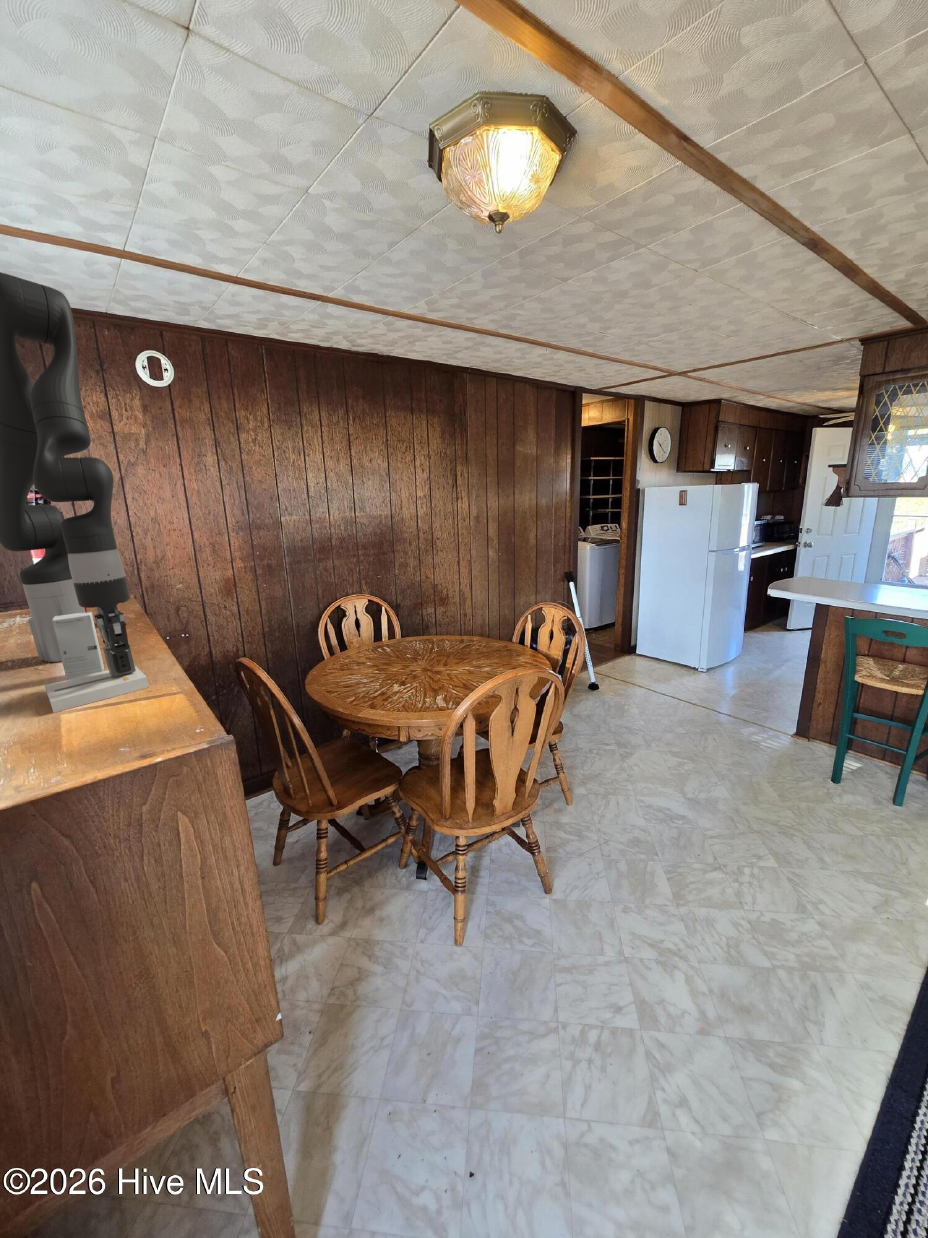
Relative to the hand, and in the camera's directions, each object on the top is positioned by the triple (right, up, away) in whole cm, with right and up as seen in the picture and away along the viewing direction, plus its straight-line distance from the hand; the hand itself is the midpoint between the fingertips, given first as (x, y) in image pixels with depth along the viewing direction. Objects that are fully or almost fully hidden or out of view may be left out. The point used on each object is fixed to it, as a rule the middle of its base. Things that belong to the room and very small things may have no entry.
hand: (122, 669), depth 91 cm
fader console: (-3, -4, -2) cm, 5 cm away
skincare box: (-13, -2, +8) cm, 15 cm away
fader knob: (0, -1, 0) cm, 1 cm away
